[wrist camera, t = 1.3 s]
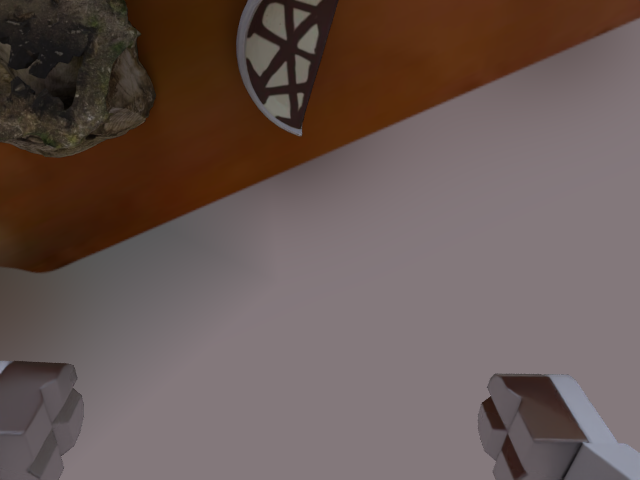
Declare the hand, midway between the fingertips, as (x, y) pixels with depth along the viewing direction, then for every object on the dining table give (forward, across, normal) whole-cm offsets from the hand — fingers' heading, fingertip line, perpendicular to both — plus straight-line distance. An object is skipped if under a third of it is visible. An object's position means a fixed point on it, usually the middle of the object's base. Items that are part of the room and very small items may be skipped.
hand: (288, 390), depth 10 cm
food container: (+38, +1, -3) cm, 38 cm away
